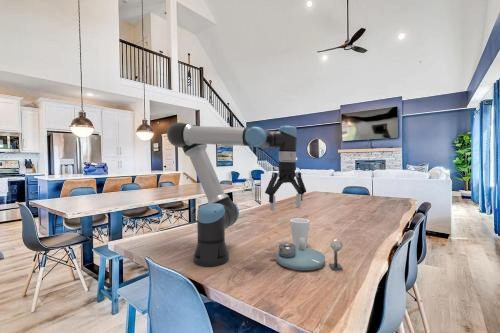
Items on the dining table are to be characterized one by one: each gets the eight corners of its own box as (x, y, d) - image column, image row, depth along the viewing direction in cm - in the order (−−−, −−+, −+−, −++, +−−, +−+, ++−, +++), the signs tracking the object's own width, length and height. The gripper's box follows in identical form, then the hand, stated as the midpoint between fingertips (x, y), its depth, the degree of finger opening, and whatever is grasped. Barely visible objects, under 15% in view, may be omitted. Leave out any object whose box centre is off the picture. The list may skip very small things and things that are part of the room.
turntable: (278, 270, 99) (278, 252, 99) (274, 251, 119) (274, 236, 119) (331, 270, 99) (331, 252, 99) (318, 251, 119) (318, 236, 119)
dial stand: (331, 270, 101) (331, 240, 100) (328, 265, 105) (328, 237, 104) (342, 270, 101) (343, 240, 100) (339, 266, 105) (339, 237, 104)
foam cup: (286, 244, 131) (286, 219, 130) (302, 242, 134) (302, 217, 134) (296, 251, 122) (296, 223, 122) (313, 248, 125) (313, 221, 125)
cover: (279, 258, 106) (279, 246, 106) (278, 252, 113) (278, 240, 113) (296, 258, 106) (296, 246, 105) (294, 252, 113) (294, 240, 112)
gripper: (266, 161, 105) (265, 213, 106) (315, 162, 116) (313, 209, 117) (258, 160, 112) (256, 209, 112) (304, 161, 122) (303, 205, 123)
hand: (285, 209), depth 115 cm, fingers open, 13 cm apart
